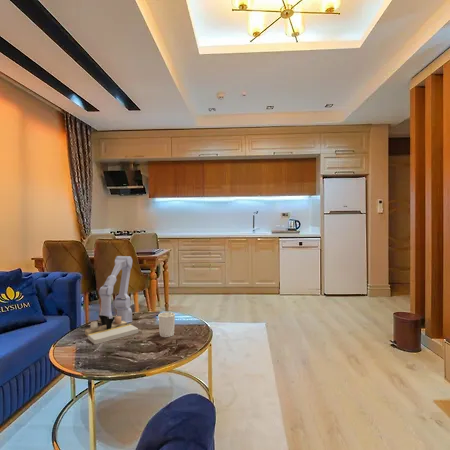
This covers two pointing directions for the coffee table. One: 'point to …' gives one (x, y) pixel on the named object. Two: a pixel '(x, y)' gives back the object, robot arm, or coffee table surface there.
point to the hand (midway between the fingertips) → (106, 327)
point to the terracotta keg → (118, 320)
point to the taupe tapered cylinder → (94, 325)
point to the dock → (112, 334)
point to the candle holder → (166, 324)
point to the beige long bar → (104, 328)
